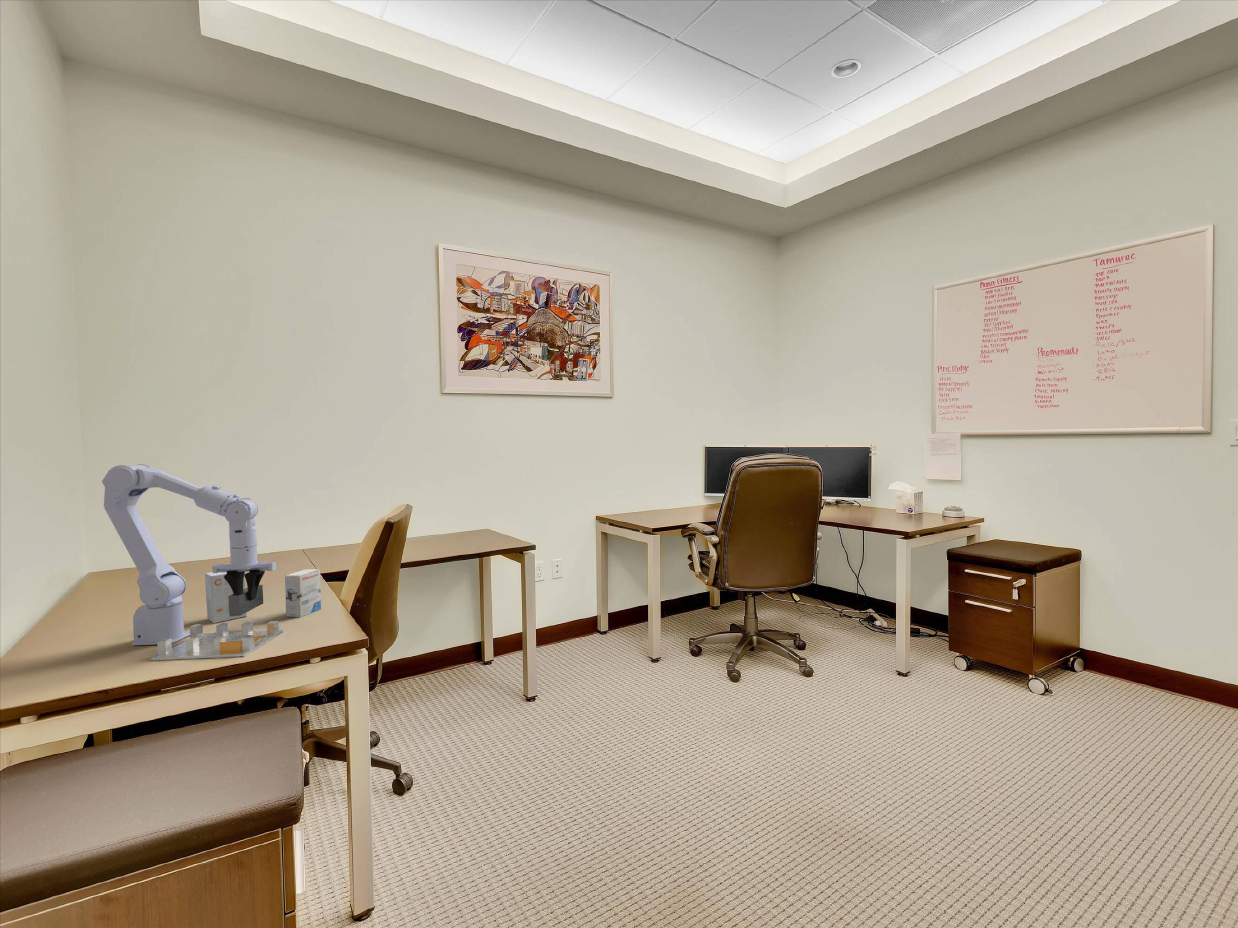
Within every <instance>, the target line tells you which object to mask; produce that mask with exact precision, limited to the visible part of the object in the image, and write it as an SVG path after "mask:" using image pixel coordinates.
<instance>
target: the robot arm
mask: <svg viewBox="0 0 1238 928" xmlns="http://www.w3.org/2000/svg"><path fill="white" fill-rule="evenodd" d="M101 483H102V485H103V486H104V492H103V493H104V496H103V508H104V510H105V512H106V513H107V516H108V517H109V520H110V521H111V524H112V525H113V527H114V530H116V533H117V534H118V536H119V537H120V538H119V539H120V540H121V541H122V543H123V545H124V547H125V549H126V550H127V553H128V555H129V556H130V558H131V559H132V562H133V563H134V565H135V567H136V569H137V571H138V573H139V574H138V576H137V577H138V578H137V582H136V584H137V585H138V587H139V599H140V601H141V602H142V603H143V604H144V605H140V606H139V607H138V608H137V609H135V612H134V613H133V617H132V628H133V642H132V643H131V646H147V645H149V646H151V645H153V646H154V645H157V642H158V641H160V640H162V639H171V638H172V644H175V643H176V642H179V641H180V640H182V639H185V638H187V637H190V631H185V620H184V618H185V617H184V603H183V599H184V598H183V596H182V595H183V594H184V593H185V592H186V590H187V586H188V585H187V580H186V579H185V578H184V577H183V576H182V575H181V574H179V573H178V572H177V571H176V569H175V568H174V567H173V566H172V565H170V564H169V563H167V562H166V561H165V559H164V557H163V556H162V554H161V552H160V550H159V548H158V546H157V544H156V543H155V541H154V539H153V537H152V535H151V533H150V531H149V530H148V528H147V526H146V524H145V522H144V520H143V518H142V516H141V514H140V513H139V511H138V509H137V507H136V504H137V503H138V502H139V499H140V498H141V496H142V495H143V494H144V493H145V492H147V491H148V490H149V489H151V488H160V489H163V490H166V491H168V492H171V493H175V494H176V495H180V496H182V497H186V498H189V499H192V500H193V502H194V504H195V506H196V507H198V508H201V509H203V510H205V511H208V512H211V513H212V514H213V513H214V514H216V515H219V516H220V517H224V518H225V520H226V522H227V521H228V530H229V533H228V536H229V551H230V552H229V554H230V558H229V559H230V562H227V563H218V564H214V565H212V566H211V572H212V573H220V572H227V573H226V575H224V579H225V580H226V581H227V582H228V584H229V585H230V587H231V589H232V591H233V593H236V592H239V591H241V590H243V580H244V576H245V583H246V586H247V587H248V599H249V600H253V599H256V594H257V590H258V586H259V585H260V583H261V580H262V579H263V576H264V575H265V573H266V571H267V572H268V571H269V572H272V571H275V570H277V562H276V561H258V551H257V550H258V549H257V547H258V546H257V527H256V516H257V515H258V513H259V507H258V504H257V503H256V502H255V501H254V500H252V499H251V498H249V497H243V498H240V496H241V495H239V494H236V493H235V494H232V493H229V492H227V491H224V490H222V489H221V487H220V486H218V485H212V486H211V485H206V486H203V487H200V486H199V485H196V484H194V483H192V482H189V481H187V480H184V479H182V478H180V477H179V476H176V475H173V474H171V473H169V472H166V471H164V470H162V469H160V468H158V467H157V468H156V467H151V466H149V465H148V464H144V463H142V464H141V463H140V464H133V465H125V464H124V465H123V464H118V465H115V466H113V467H111V468H110V469H109V470H108V471H107V473H106V474H105V475H104V477H103V479H102V481H101ZM246 572H247V573H246ZM247 587H246V588H247Z"/></svg>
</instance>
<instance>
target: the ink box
mask: <svg viewBox="0 0 1238 928" xmlns="http://www.w3.org/2000/svg"><path fill="white" fill-rule="evenodd" d="M284 578H285V579H284V580H285V581H284V583H285V584H284V586H285V587H284V588H285V616H286V617H288V618H289V617H290V618H302V617H304V616H308V615H310V614H312V613H314V612H318V611H319V609H320V610H321V609H322V597H321V569H317V568H313V569H312V568H311V569H310V568H309V569H308V568H306V569H302V570H299V571H296V572H292V573H289V574H286V575H285V576H284ZM309 613H310V614H309Z"/></svg>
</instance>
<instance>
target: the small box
mask: <svg viewBox="0 0 1238 928" xmlns="http://www.w3.org/2000/svg"><path fill="white" fill-rule="evenodd" d="M226 573H227V572H220V573H212V571H211V572H205V573H204V579H205V580H204V582H205V583H204V584H205V598H206V599H205V600H206V601H205V602H206V615H207V620H208V619H209V620H208V621H210V622H211V621H212V622H211V623H213V624H215V623H222V622H225V621H230V620H235V619H239V618H246V617H247V613H248V612H246V613H244V614H242V615H241V616H229V599H228V596H230V595H232V594H234V593H233V591H232V589H231V587H230V585H229V584H228V582H227V581H226V580H225V579H224V575H226ZM245 588H246V579H245V576H244V580H243V589H245Z"/></svg>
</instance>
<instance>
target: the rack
mask: <svg viewBox="0 0 1238 928" xmlns="http://www.w3.org/2000/svg"><path fill="white" fill-rule="evenodd" d="M203 626H204V625H203V623H195V624H193V625H190V626H189V632H190V635H189V638H188V639H187V640H186V641H183V642H181V643H179V644H178V645H175V646H173V643H172V638H171V639H162V640H160V641H158V642H157V644H156V645H157V655H155V656H153V657H151V661H152V662H153V661H155V662H156V661H175V660H197V659H218V658H219V659H220V658H221V659H222V658H240V656H245V657H246V656H248V655H249V654H251V653H253V652H254V651H255V650H257V649H260V648H261V647H262V646H264V645H265V644H267V643H269V642H270V641H272V640H273V639H275V638H277V637H278V636H281V634H283V633H284V630H282V629H281V630H280V628H279V627H280V626H279V620H272V621H268V622H267V623H266V630H256V631H254V630H253V627H254V625H253V621H246V622H244V623H242V624H241V631H233V632H229V630H228V629H229V625H228V622H220V623H219V624H217V625H215V627H216V632H207V633H205V632H204V630H203V629H204V627H203Z"/></svg>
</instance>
